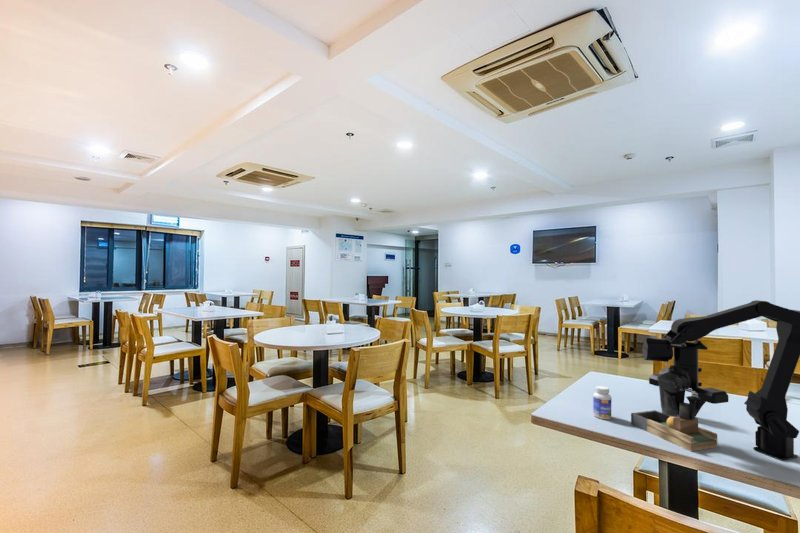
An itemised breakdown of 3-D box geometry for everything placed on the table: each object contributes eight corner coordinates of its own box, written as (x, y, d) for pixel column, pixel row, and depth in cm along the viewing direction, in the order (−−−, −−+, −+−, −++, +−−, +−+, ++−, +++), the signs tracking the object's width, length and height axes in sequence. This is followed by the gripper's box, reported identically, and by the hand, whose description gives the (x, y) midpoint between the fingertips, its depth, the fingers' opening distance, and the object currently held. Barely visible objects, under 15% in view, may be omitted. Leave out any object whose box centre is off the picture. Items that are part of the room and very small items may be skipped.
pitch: (717, 446, 103) (717, 433, 103) (690, 451, 101) (690, 438, 101) (671, 427, 116) (671, 416, 116) (646, 431, 113) (646, 419, 113)
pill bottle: (601, 420, 121) (602, 390, 121) (589, 414, 126) (589, 385, 126) (615, 418, 123) (615, 389, 123) (602, 412, 128) (602, 384, 128)
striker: (700, 432, 106) (700, 404, 107) (681, 435, 104) (682, 407, 105) (689, 428, 109) (689, 401, 109) (671, 431, 107) (671, 403, 107)
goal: (671, 427, 116) (671, 416, 116) (646, 431, 113) (646, 419, 113) (654, 420, 121) (655, 410, 121) (631, 424, 118) (631, 413, 118)
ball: (684, 430, 109) (684, 418, 109) (675, 432, 108) (675, 420, 108) (672, 426, 112) (672, 414, 112) (663, 427, 111) (663, 415, 111)
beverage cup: (687, 418, 123) (687, 358, 124) (663, 416, 125) (663, 357, 125) (676, 410, 130) (676, 354, 131) (653, 409, 132) (653, 352, 132)
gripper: (635, 357, 114) (635, 408, 114) (699, 373, 96) (699, 434, 96) (662, 355, 117) (662, 405, 117) (729, 370, 99) (730, 429, 99)
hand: (685, 417), depth 107 cm, fingers closed on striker, 3 cm apart
